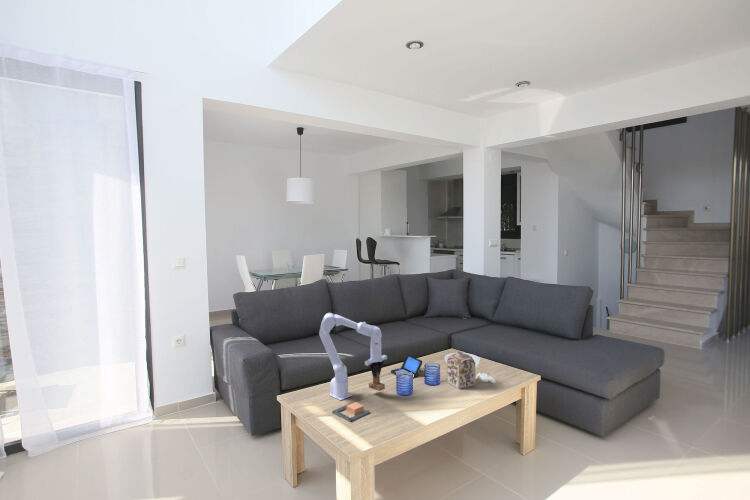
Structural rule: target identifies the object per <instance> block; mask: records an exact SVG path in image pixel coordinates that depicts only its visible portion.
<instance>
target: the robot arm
mask: <svg viewBox="0 0 750 500" xmlns="http://www.w3.org/2000/svg"><path fill="white" fill-rule="evenodd" d="M338 326H344V327H347V328H351V329H354V330H355V331H356V333H359V334H361V335H363V336H367V337H370V342H369V343H370V358H368V359H367V360H365V361H364V365H365V366H367V367H368V366H369V368H370V372H371V374H372V375H371V376H372V377H373V376H374V377H376V376H377V373H379V376H380V375H381V372H382V368H383V366H384V365H385V362H384V360H385V361H386V360H387V359H388V355H386V354H382V337H383V334H382V330H381V328H380V327H378V326H377V325H371V324H368V323H366V321H363V322H362V321H360V322H356V321H353V320H351V319H349V318H346V317H344V316H342V315H340V314H336V313H335V314H334V313H332V312H327V313H325V315H324V316H323V317H322V319H321V324H320V327H319V328H320V329H319V332H318V335H319V337H320V340H321V342H322V344H323V345H322V346H323V347H324V349H325V351H326V353H327V355H328V358H329V360H330V362H331V364H332V367H333V371H334V377H333V378H332V379H331V380H330V385H329V387H330V393H329V396H330V397H333V398H334V399H336V400H339V401H342V400H345V399H347V398H350V397H352V396H353V395H352V394H351V393H349V378H348V368H347V366H346V365H345V364H344V362H343V361H342V360H341V358H340V356H339V355H340V354H339V353H338V350H337V349H336V346H335V343H334V342H333V340H332V337H331V335H330V332H331V330H332V329H333V328H334V327H338Z"/></svg>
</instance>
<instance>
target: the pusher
mask: <svg viewBox="0 0 750 500" xmlns="http://www.w3.org/2000/svg"><path fill="white" fill-rule="evenodd" d="M380 378H381V377H380V375H379V373H377V376H376V377H374V376H373V375H372V381H370V382H369V383H368V388H369V389H373V390H375V391H378V392H380V391H383V390H385V389H386V387H385V385H386V384H385V383H383V382H381V381H380V380H381V379H380Z"/></svg>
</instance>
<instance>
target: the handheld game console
mask: <svg viewBox="0 0 750 500" xmlns="http://www.w3.org/2000/svg"><path fill="white" fill-rule="evenodd" d="M422 365H423V361H422V360H421V359H418V358H417V357H414V356H412V355H410V354H407V355H406V356H405V358H404V360H403V362H402V365H401V366H400V367H399V368H394V369H391V370H390V373H391V374H393V375H395V376H396V373H397V372H399V371H406V372H412V373H413V374H414V378H413V379H416V378H418V374H419V372H420V369H421V367H422Z"/></svg>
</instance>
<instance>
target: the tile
mask: <svg viewBox="0 0 750 500" xmlns="http://www.w3.org/2000/svg"><path fill="white" fill-rule="evenodd" d="M351 403H352V404H350V403H349V404H350V405H348V404H346V405H347V406H346V408H347V409H346V412H348V413H349V414H351V415H353V416H355V415H358V414H360V413H362V412H364V411H365V405H363V404H362V403H360V402H356V401H355V402H351Z"/></svg>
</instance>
